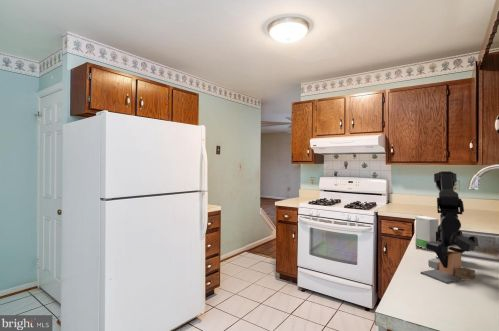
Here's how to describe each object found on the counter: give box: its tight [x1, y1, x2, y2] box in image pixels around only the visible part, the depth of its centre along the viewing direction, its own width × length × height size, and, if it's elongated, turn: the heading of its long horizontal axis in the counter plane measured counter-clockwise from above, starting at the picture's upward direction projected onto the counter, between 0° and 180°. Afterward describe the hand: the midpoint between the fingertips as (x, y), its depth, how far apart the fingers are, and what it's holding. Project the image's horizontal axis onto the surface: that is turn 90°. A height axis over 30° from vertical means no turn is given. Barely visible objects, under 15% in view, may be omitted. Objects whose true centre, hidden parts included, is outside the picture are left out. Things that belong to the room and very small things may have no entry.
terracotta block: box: [438, 250, 463, 276], centre depth 105 cm, size 5×5×8 cm
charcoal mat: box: [420, 269, 463, 284], centre depth 101 cm, size 8×10×1 cm
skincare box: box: [414, 215, 440, 249], centre depth 138 cm, size 8×7×16 cm
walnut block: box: [455, 267, 476, 281], centre depth 100 cm, size 5×4×3 cm
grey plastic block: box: [427, 257, 440, 270], centre depth 110 cm, size 5×4×3 cm
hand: (450, 266), depth 105 cm, fingers closed on terracotta block, 5 cm apart
